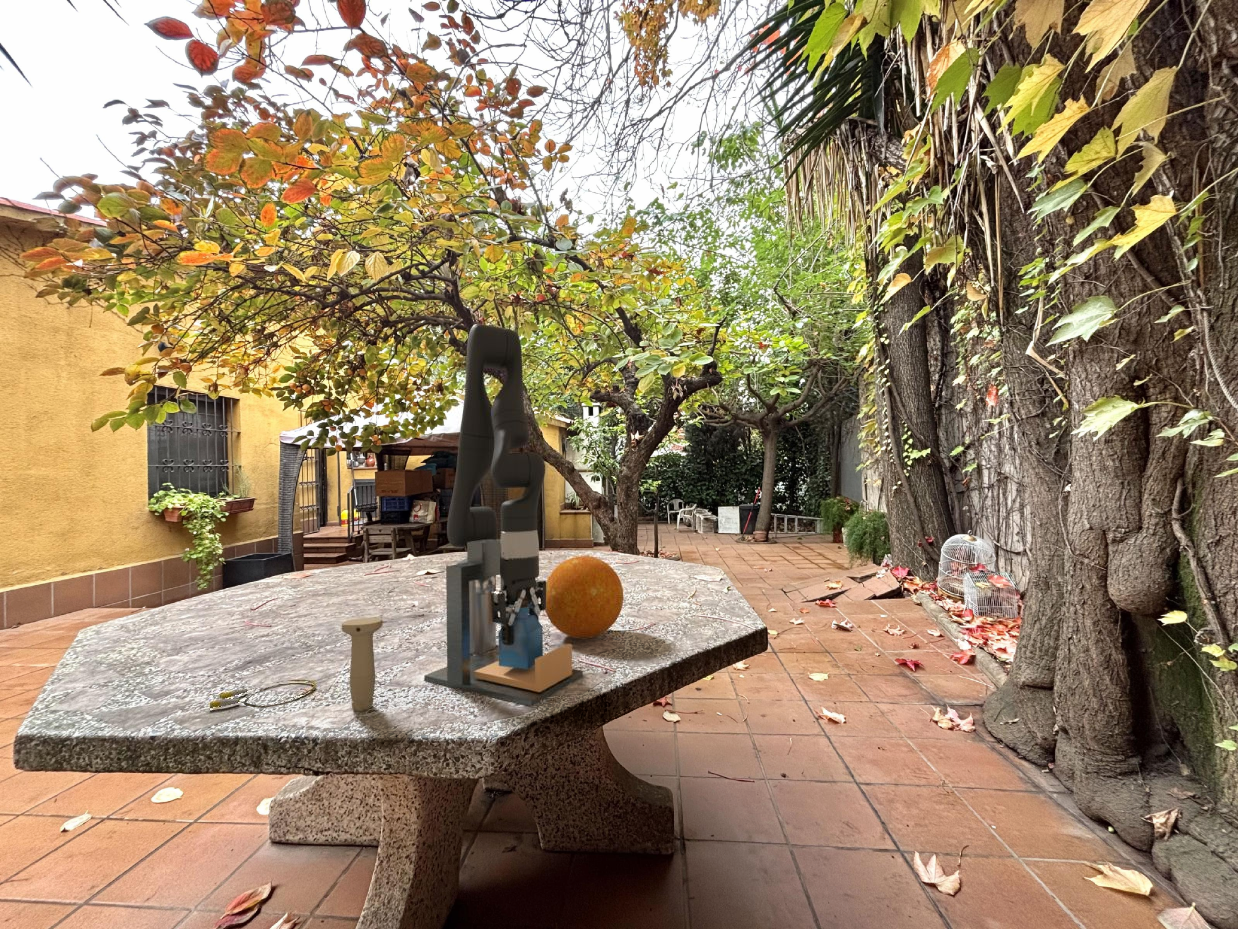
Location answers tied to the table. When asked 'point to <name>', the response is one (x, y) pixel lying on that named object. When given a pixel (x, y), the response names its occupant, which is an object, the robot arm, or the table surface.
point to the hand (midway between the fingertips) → (520, 639)
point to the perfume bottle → (522, 641)
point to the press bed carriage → (532, 671)
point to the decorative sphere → (583, 597)
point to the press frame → (459, 663)
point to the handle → (362, 660)
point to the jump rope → (236, 692)
